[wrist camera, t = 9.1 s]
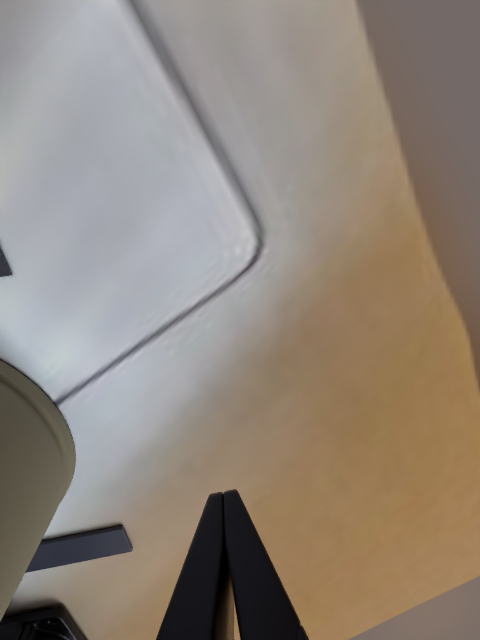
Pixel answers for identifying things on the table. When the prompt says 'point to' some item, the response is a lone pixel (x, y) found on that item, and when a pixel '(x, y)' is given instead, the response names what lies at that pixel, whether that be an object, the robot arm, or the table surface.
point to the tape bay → (80, 544)
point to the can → (28, 473)
